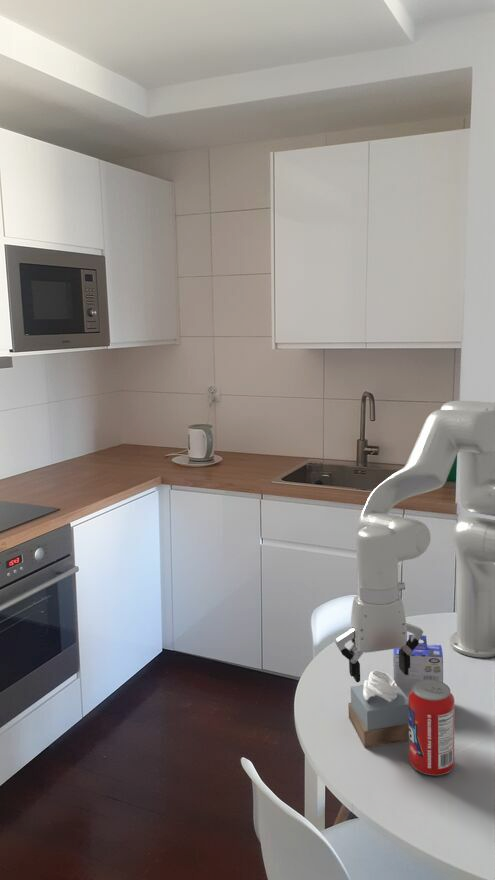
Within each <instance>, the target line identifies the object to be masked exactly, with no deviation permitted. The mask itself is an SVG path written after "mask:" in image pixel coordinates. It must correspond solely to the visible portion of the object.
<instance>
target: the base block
mask: <svg viewBox="0 0 495 880" xmlns="http://www.w3.org/2000/svg"><path fill="white" fill-rule="evenodd" d="M348 719H349V721H350V723H351V724H352V727H353V729H354V730H355V732H356V734H357V736H358V738H359V740H360V742H361V743H362V744H361V745H363V748H365V749H366V748H371V747H373V748H374V747H378V746H385V745H390V744H391V745H392V744H398V743H399V744H400V743H405V742H409V724H403V725H398V726H392V727H386V728H380V729H374V730H369V731H368V730H367V729H366V727H365V726H364V724H363V723H362V721H361V720H360V718H359V716H358V715H357V713H356V712H355V710H354V709H353V707H352V706H351V702H348Z"/></svg>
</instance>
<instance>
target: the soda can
mask: <svg viewBox="0 0 495 880" xmlns="http://www.w3.org/2000/svg"><path fill="white" fill-rule="evenodd" d="M408 715H409V741H408V759H409V763H410V765H411V766H412V767H413V768H414V769H415V770H416V771H418V772H420V773H422V774H424V775H428V776H442V775H445V774H447V773H449V772H451V771H452V770H453V768H454V767H455V698H454V695H453V694H452V692H451V689H450V687H449V686H448V684H446V683H445V682H444V681H443V682H440V681H437V680H431V679H425V680H420V681H417V682H416V683H414V684H413V686H412V690H411V691H410V692H409V696H408Z"/></svg>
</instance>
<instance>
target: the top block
mask: <svg viewBox="0 0 495 880" xmlns="http://www.w3.org/2000/svg"><path fill="white" fill-rule="evenodd" d="M363 688H364V684H361V685H359V684H358V685H353V686H350V703H351V706H352V707H353V709H354V710H355V712H356V713H357V715H358V716H359V718H360V720H361V721H362V723H363V724H364V726H365V727H366V729H367V730H368V731H369V730H374V729H380V728H386V727H392V726H398V725H403V724H409V715H408V698H407V696H406V695H405V694H404V693H403V691H402V690H401V689H400V688H399V686H398V685H397V698H395V699H391V701H390V702H389V701H387V700H385V699H384V698H382V697H379V696H377V695H375V696H371V697H370V698H369V700H368V701H367V700H365V698H364V696H363Z"/></svg>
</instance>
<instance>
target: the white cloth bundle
mask: <svg viewBox="0 0 495 880" xmlns="http://www.w3.org/2000/svg"><path fill="white" fill-rule="evenodd" d="M363 685H364V688H363V696H364V698H365V700H367V701H368V700H369V698H370V697H371V696H375V695H377V696H379V697H382V698H384V699H385V700H387V701H389V702H390V701H391V699H395V698H397V684H396V683H395V681H394V677H392V676H391V675H390V674H389V673H386V672H384V671H380V670H372V671H370V673H369V676H368V679H365V680H364V682H363Z"/></svg>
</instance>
